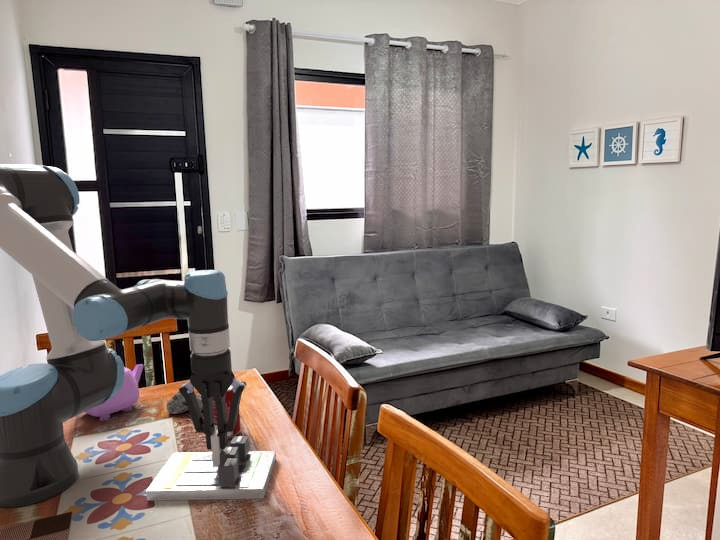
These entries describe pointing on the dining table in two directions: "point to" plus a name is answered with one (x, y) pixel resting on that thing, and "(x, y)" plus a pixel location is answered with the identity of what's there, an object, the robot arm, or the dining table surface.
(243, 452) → the breaker far
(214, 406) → the soda can
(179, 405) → the grey rock
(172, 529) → the dining table surface
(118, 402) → the teapot
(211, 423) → the robot arm
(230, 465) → the breaker near
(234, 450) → the breaker
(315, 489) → the dining table surface
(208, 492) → the panel
